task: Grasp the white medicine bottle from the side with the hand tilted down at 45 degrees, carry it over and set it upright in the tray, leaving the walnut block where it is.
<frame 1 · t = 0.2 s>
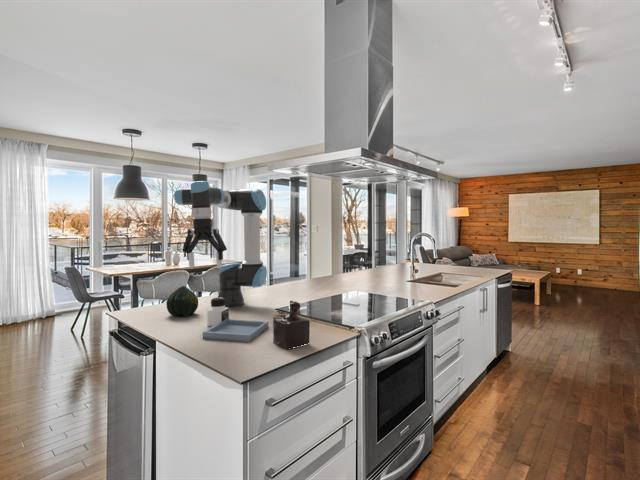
hand: (205, 267, 156), 27 cm above the worktop, tool pointing down, fingers open, 13 cm apart
tray: (237, 332, 152), on the worktop
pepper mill: (294, 346, 137), on the worktop
squash: (182, 315, 183), on the worktop
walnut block: (281, 326, 162), on the worktop
medicine bottle: (218, 324, 165), on the worktop
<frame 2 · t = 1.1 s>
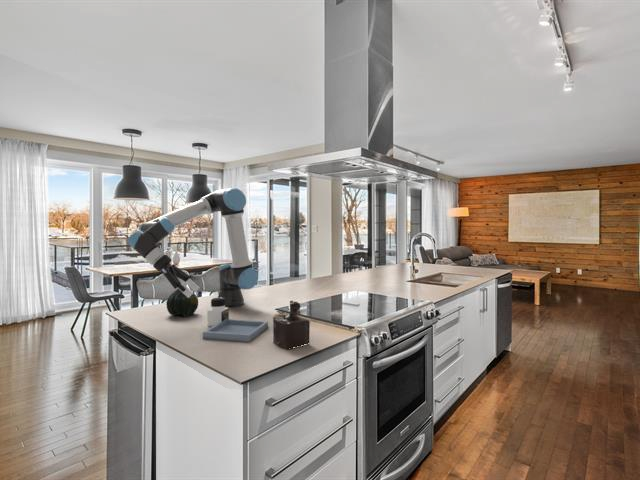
hand: (194, 292, 163), 15 cm above the worktop, tool tilted 45°, fingers open, 13 cm apart
nothing on the worktop moved.
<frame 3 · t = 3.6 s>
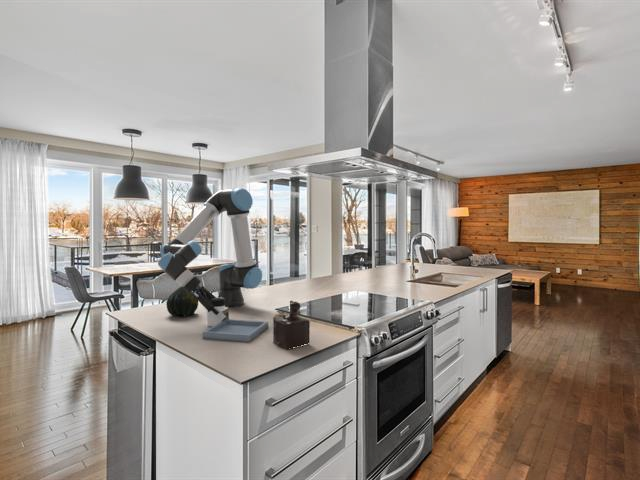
hand: (225, 315, 165), 4 cm above the worktop, tool tilted 45°, fingers closed on medicine bottle, 9 cm apart
medicine bottle: (218, 324, 165), on the worktop, touching gripper
everything else where it was.
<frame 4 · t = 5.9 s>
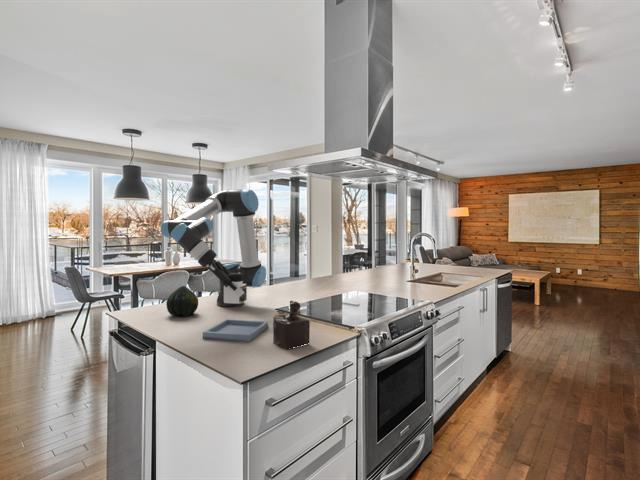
hand: (243, 292, 152), 17 cm above the worktop, tool tilted 45°, fingers closed on medicine bottle, 9 cm apart
medicine bottle: (235, 302, 152), point 13 cm above the worktop, touching gripper
everything else where it was.
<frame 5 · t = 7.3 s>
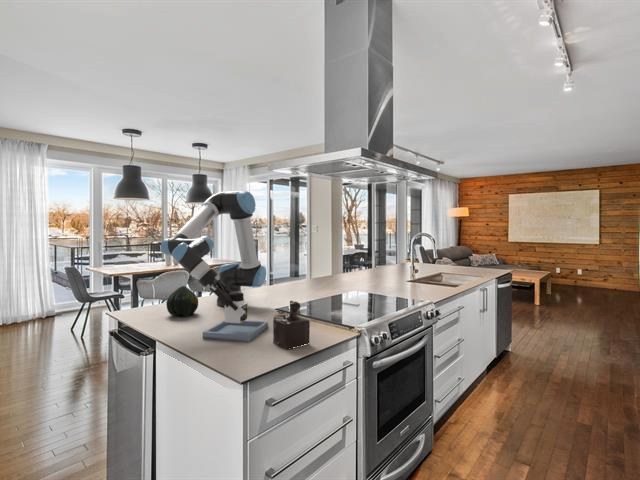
hand: (244, 311, 152), 9 cm above the worktop, tool tilted 45°, fingers closed on medicine bottle, 9 cm apart
medicine bottle: (236, 321, 152), point 5 cm above the worktop, touching gripper
everything else where it was.
when the fingers open (6 cm above the worktop, at t = 8.3 s): medicine bottle drops 2 cm, resting on tray.
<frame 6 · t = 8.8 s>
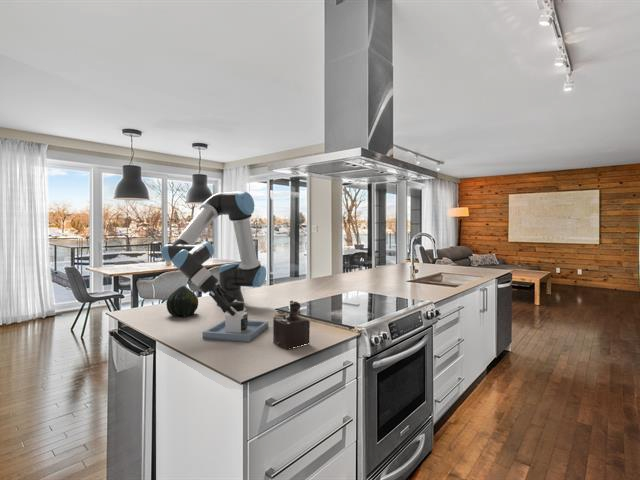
hand: (242, 315, 152), 7 cm above the worktop, tool tilted 45°, fingers open, 13 cm apart
medicine bottle: (236, 331, 153), point 1 cm above the worktop, touching tray
everything else where it was.
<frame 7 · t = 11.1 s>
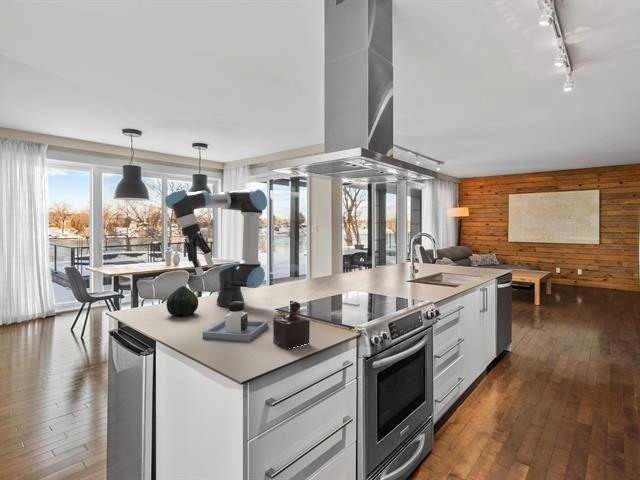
hand: (206, 270, 162), 25 cm above the worktop, tool tilted 20°, fingers open, 13 cm apart
nothing on the worktop moved.
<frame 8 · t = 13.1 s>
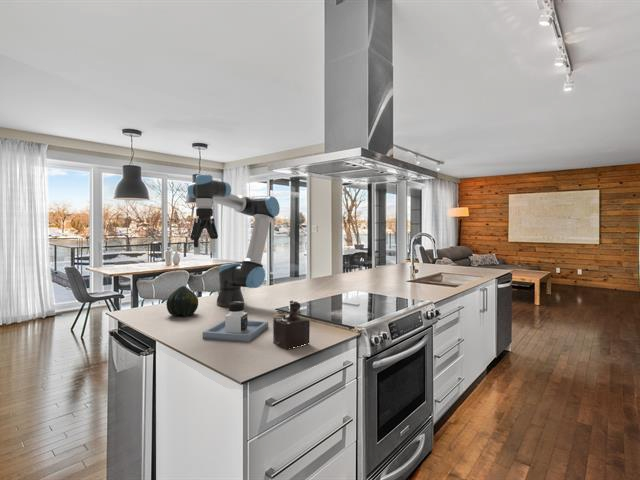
hand: (205, 253, 171), 32 cm above the worktop, tool pointing down, fingers open, 13 cm apart
nothing on the worktop moved.
at the end: medicine bottle inside the target area on the tray (0.4 cm from its centre), point 0.6 cm above the tray's base; medicine bottle tilted 0°; the gripper is holding nothing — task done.
